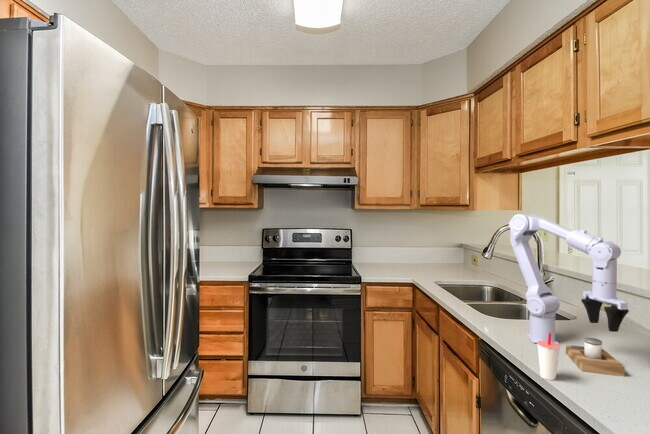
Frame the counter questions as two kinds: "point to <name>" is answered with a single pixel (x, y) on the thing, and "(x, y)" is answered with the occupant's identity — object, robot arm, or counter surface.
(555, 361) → the cup
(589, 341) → the salt shaker
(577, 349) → the jig
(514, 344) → the counter surface
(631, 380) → the counter surface
